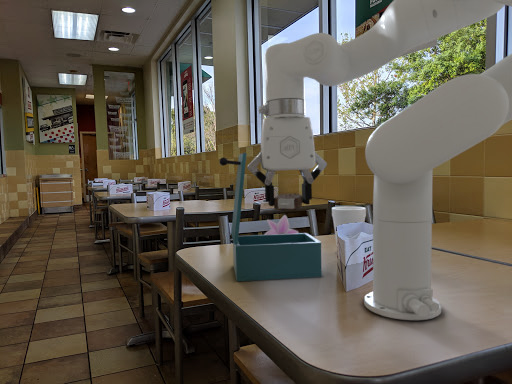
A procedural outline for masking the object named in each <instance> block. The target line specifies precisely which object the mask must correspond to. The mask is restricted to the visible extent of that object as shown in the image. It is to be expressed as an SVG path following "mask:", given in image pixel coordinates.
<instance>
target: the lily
mask: <svg viewBox="0 0 512 384" xmlns="http://www.w3.org/2000/svg"><path fill="white" fill-rule="evenodd" d="M266 222H267V224H268V226H269V228H270V229H269V230H267V231H266V232H265V233H264V234H263V235H271V234H295V233H300V232H299V230H297V229H293V228H290V223H289V219H288V216H287V215H286V214H283V216H281V218H279V221H278V222H277V223H276V222H275V221H273V220H271V219H266Z"/></svg>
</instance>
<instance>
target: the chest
mask: <svg viewBox="0 0 512 384" xmlns="http://www.w3.org/2000/svg"><path fill="white" fill-rule="evenodd" d="M232 257H233V258H232V259H233V270H234V275H235V279H236V282H251V281H269V280H286V279H305V278H321V277H322V276H323V275H322V242H321V241H320V240H318V239H317V238H315V237H314V236H312V235H311V234H309V233H308V232H299V233H295V234H271V235H264V234H252V235H251V234H249V235H238V244H234V242H233V241H232Z"/></svg>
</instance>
